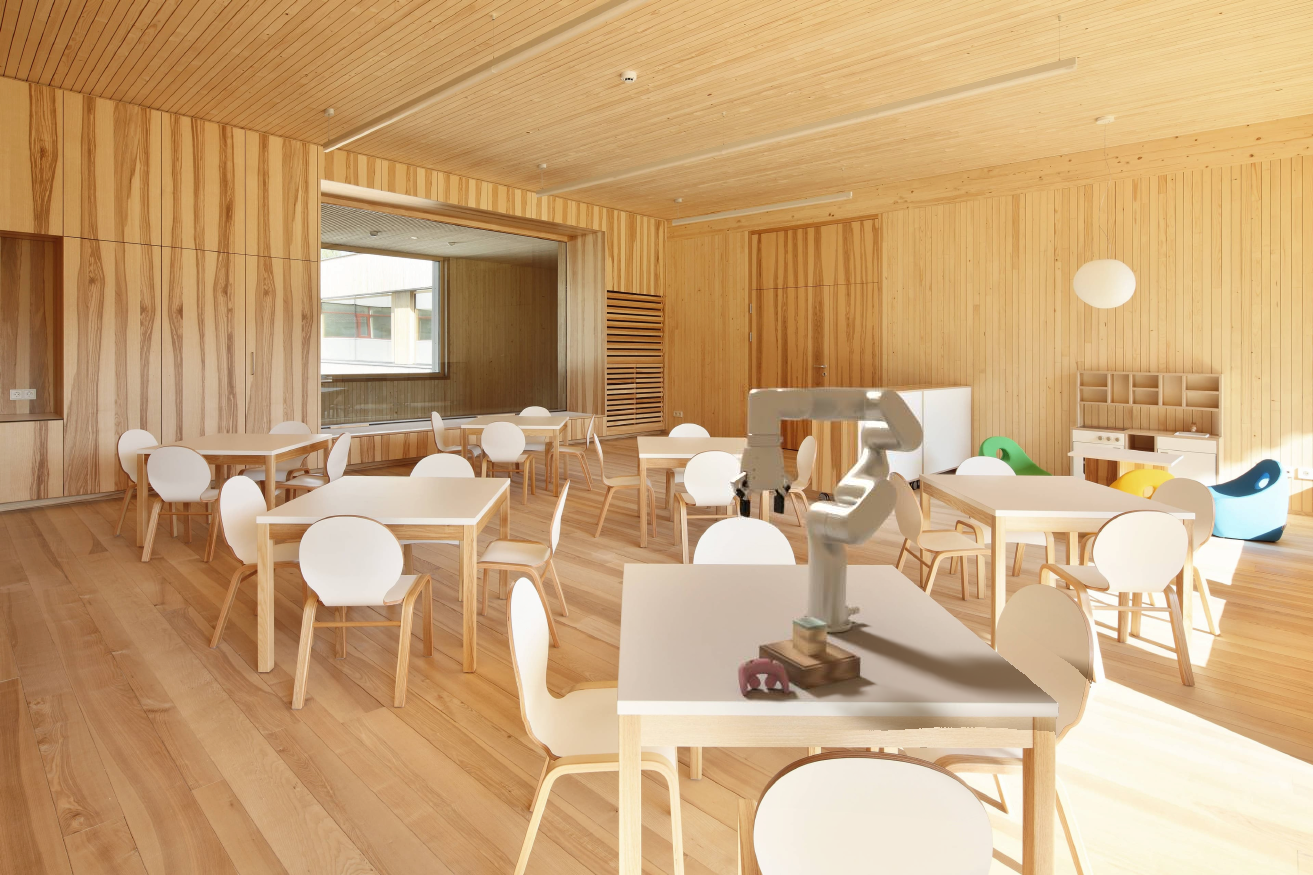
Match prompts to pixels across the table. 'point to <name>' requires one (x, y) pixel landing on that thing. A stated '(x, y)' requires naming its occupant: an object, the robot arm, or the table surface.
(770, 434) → the robot arm
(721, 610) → the table surface
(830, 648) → the walnut plinth
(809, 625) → the maple block
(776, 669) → the video game controller
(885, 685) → the table surface
